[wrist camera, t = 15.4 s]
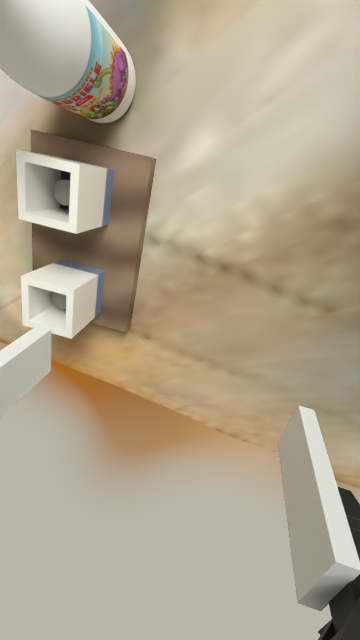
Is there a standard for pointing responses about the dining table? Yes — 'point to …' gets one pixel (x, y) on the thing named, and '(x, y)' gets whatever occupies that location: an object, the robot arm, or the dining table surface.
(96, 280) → the white sleeve
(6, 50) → the milk bottle
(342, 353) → the dining table surface
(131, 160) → the pin board
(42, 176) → the seated sleeve
